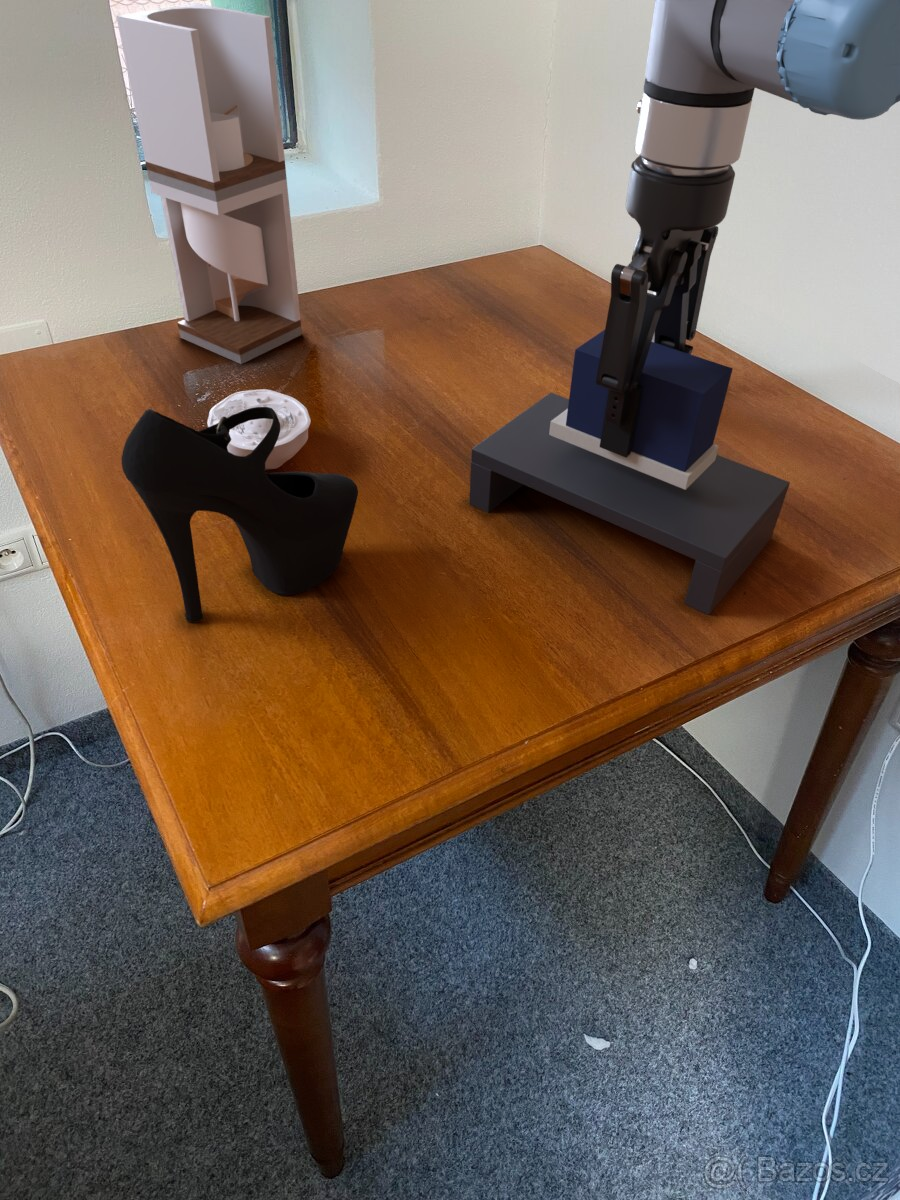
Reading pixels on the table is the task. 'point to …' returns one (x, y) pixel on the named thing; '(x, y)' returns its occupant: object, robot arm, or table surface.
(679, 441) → the navy block on base
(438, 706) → the table surface
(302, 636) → the table surface
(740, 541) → the shoe shelf
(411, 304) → the table surface
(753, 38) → the robot arm
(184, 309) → the white architectural model
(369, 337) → the table surface
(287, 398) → the cell model
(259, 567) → the high-heeled shoe
